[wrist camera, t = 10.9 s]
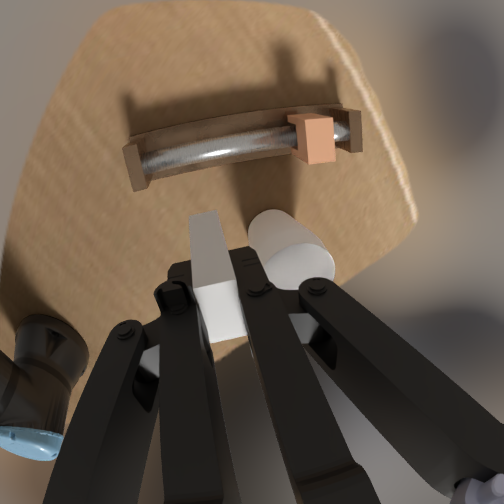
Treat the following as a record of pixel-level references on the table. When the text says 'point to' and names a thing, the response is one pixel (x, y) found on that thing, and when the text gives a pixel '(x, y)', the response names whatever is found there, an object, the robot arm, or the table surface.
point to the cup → (288, 250)
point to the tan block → (313, 138)
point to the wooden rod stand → (229, 141)
